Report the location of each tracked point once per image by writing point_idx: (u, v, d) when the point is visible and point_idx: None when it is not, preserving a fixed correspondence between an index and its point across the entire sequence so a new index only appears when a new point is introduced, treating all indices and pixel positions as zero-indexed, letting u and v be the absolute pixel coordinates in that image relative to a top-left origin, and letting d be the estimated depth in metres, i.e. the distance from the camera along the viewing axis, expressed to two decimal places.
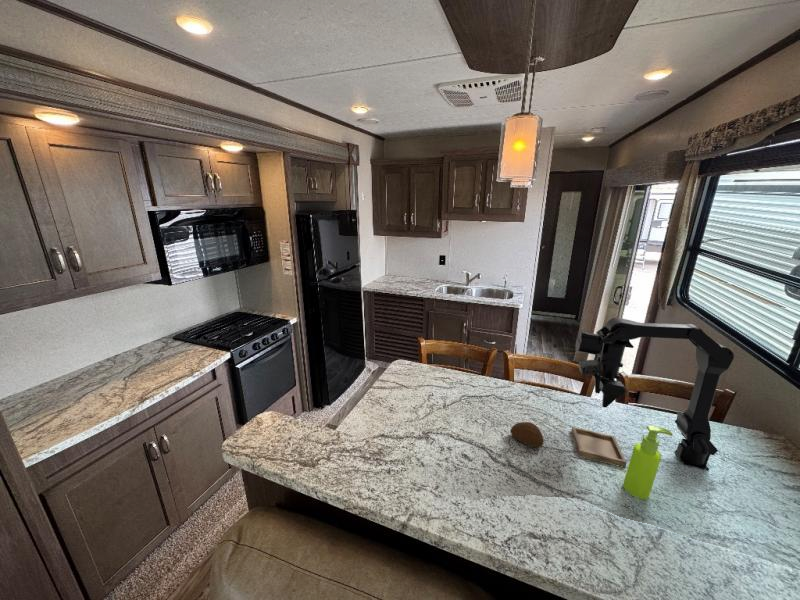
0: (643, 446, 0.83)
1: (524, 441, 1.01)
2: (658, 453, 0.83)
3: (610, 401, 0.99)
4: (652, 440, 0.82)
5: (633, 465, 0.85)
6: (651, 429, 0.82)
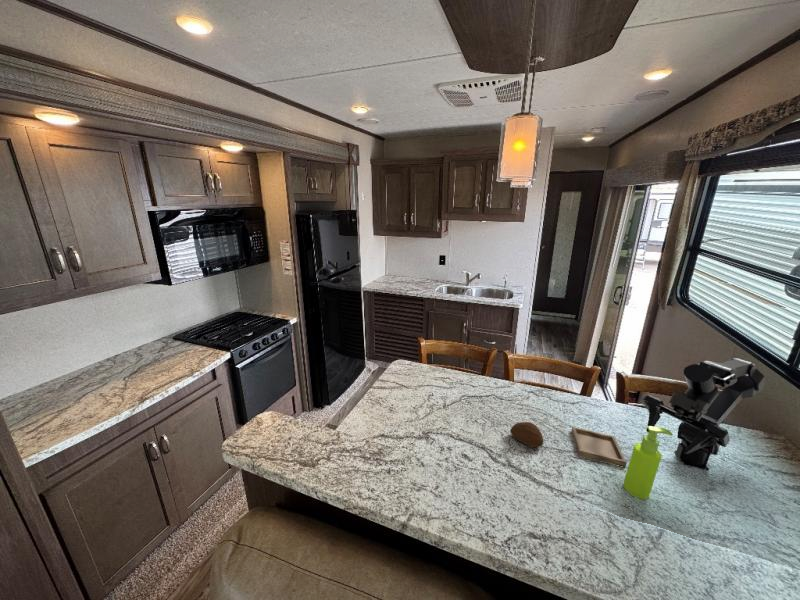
0: (643, 446, 0.83)
1: (524, 441, 1.01)
2: (658, 453, 0.83)
3: (697, 448, 0.83)
4: (652, 440, 0.82)
5: (633, 465, 0.85)
6: (651, 429, 0.82)
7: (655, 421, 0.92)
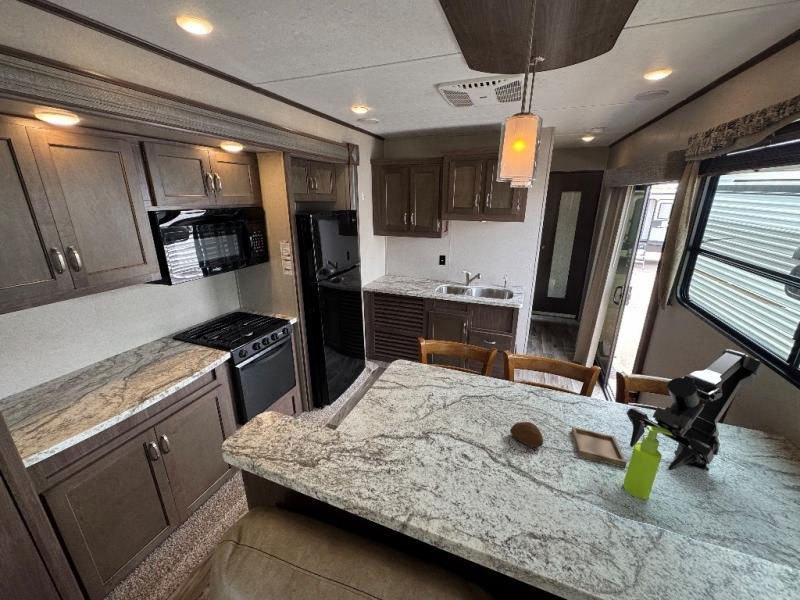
0: (643, 446, 0.83)
1: (524, 441, 1.01)
2: (658, 453, 0.83)
3: (680, 465, 0.81)
4: (652, 440, 0.82)
5: (633, 465, 0.85)
6: (651, 429, 0.82)
7: (639, 435, 0.90)
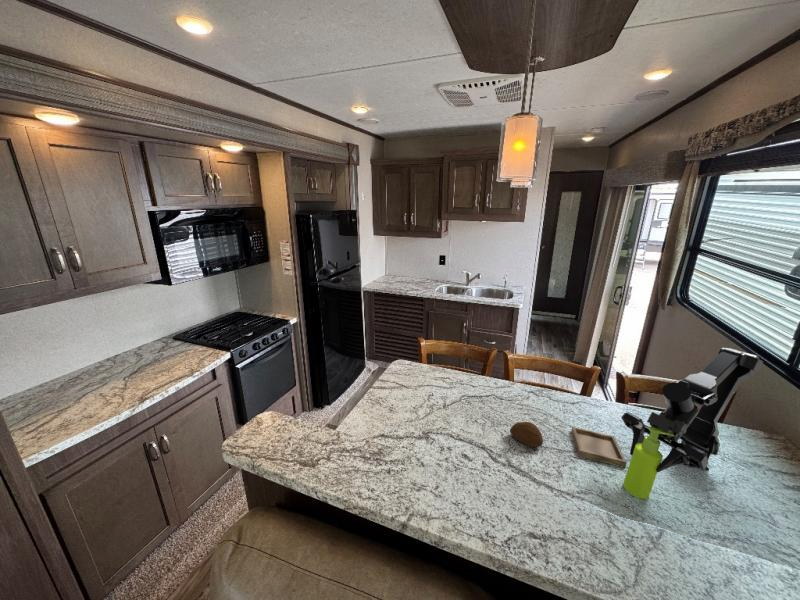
0: (644, 446, 0.83)
1: (523, 441, 1.01)
2: (659, 454, 0.82)
3: (668, 466, 0.81)
4: (653, 440, 0.82)
5: (633, 465, 0.85)
6: (652, 430, 0.82)
7: None
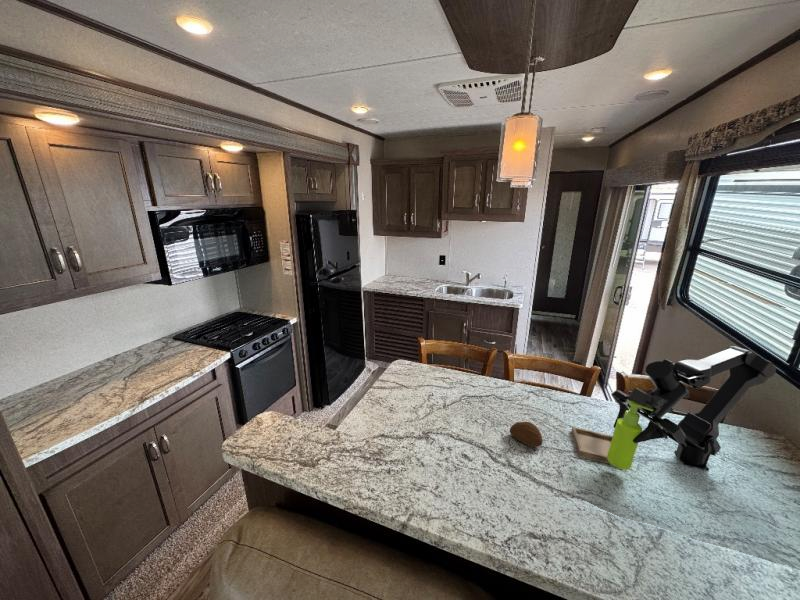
0: (624, 419, 0.89)
1: (523, 441, 1.01)
2: (639, 427, 0.87)
3: (646, 439, 0.86)
4: (632, 414, 0.87)
5: (614, 436, 0.91)
6: (631, 403, 0.87)
7: None
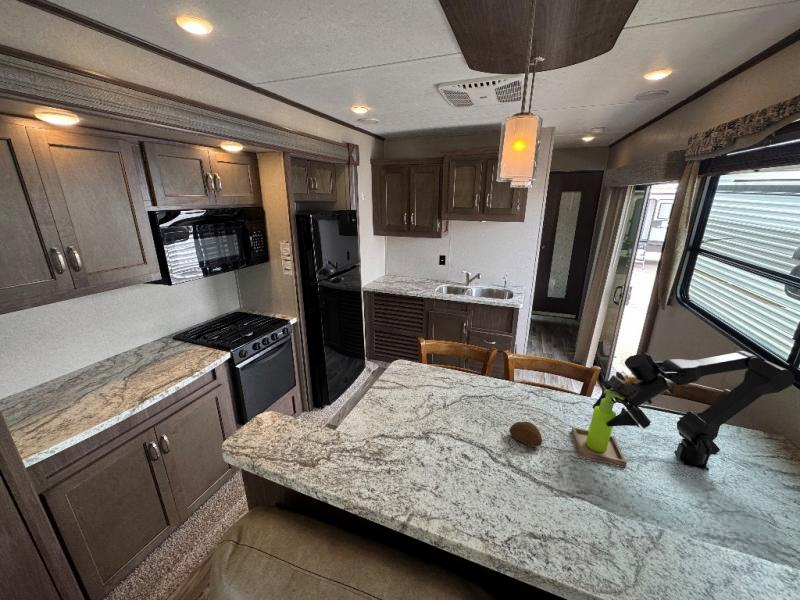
0: None
1: (523, 441, 1.01)
2: (612, 414, 0.98)
3: (618, 424, 0.94)
4: (606, 400, 0.98)
5: (591, 420, 1.02)
6: (605, 391, 0.98)
7: None
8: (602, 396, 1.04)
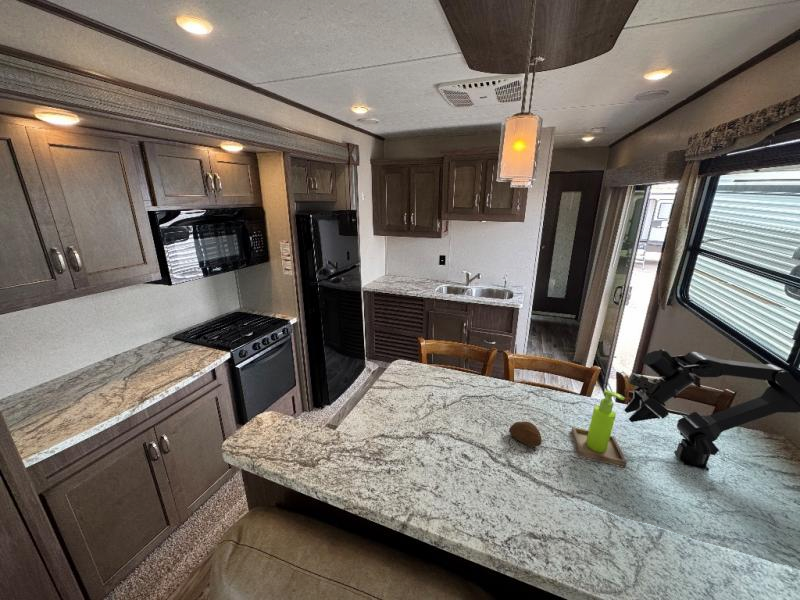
0: (599, 406, 1.00)
1: (522, 440, 1.01)
2: (611, 414, 0.98)
3: (640, 418, 0.95)
4: (605, 401, 0.98)
5: (591, 420, 1.02)
6: (605, 391, 0.98)
7: (638, 405, 1.04)
8: (633, 398, 1.05)
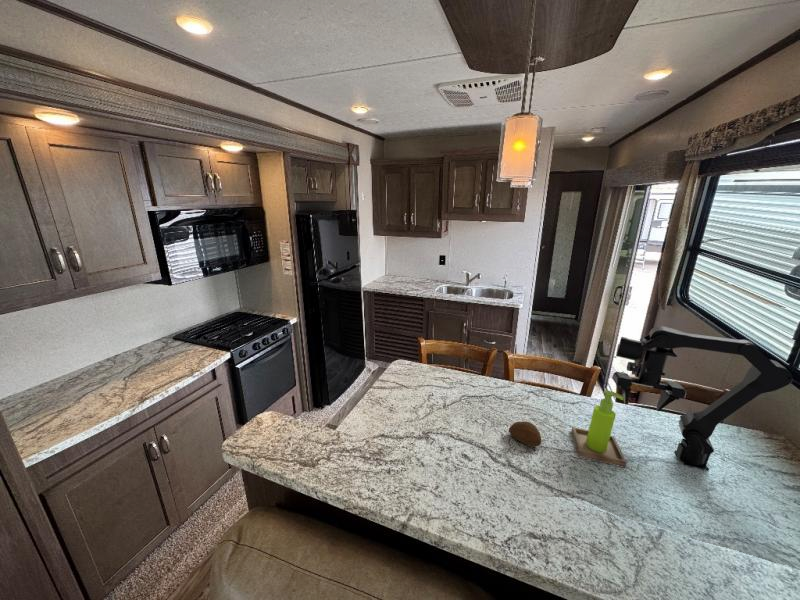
0: (599, 406, 1.00)
1: (522, 440, 1.01)
2: (611, 414, 0.98)
3: None
4: (605, 401, 0.98)
5: (591, 420, 1.02)
6: (605, 391, 0.98)
7: (662, 400, 1.02)
8: None
